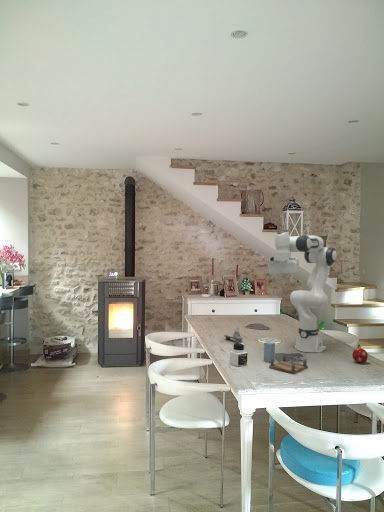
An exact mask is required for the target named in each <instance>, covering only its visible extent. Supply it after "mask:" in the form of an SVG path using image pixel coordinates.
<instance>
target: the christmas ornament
mask: <svg viewBox="0 0 384 512" xmlns="http://www.w3.org/2000/svg"><path fill="white" fill-rule="evenodd" d="M351 353H352V354H351V355H352V359H353V360H354V362H356V363H358V364H363V363H366V362H367V361H368V359H369V353H368V351H366V349H364V348H363V347H362V346H361V345H359V347H357V348H355V349H354V350H353V351H352V352H351Z"/></svg>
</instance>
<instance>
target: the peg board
mask: <svg viewBox="0 0 384 512" xmlns="http://www.w3.org/2000/svg"><path fill="white" fill-rule="evenodd" d="M302 361H303V362H302V363H298V362H293V361H289V360H287V354H282V360H281V361H277V362H275V361H274V359H271V363H270V365H269V366H268V369H269V370H270V369H271V370H274V371H279V372H283V373H287V374H291V375H295V374H298V373H300V372H302V371H304V370H307V369H308V368H309V366H308V364H307V363H308V362H307V361H308V360H307V359H306V358H304V359H302Z"/></svg>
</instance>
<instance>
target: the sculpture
mask: <svg viewBox="0 0 384 512" xmlns="http://www.w3.org/2000/svg"><path fill="white" fill-rule="evenodd" d="M240 333H241V332H240V329H239V326H237V327H236V329H235V330H234V332H233V335H232V334H228V333H227V334H224V335H223V337H225V341H230V340H231V339H233V340H234V341H235V343H242V342H243V337H242V336H241V334H240Z"/></svg>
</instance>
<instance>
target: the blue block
mask: <svg viewBox="0 0 384 512" xmlns="http://www.w3.org/2000/svg"><path fill="white" fill-rule="evenodd" d="M275 347H276V343H275V342H272V341H266V342H264V343H263V362H264V361H265V362H266V363H269V364H271V359H274V362H275V359H276V358H275V357H276V355H275V354H276V353H275V352H276V351H275V349H276V348H275Z"/></svg>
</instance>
